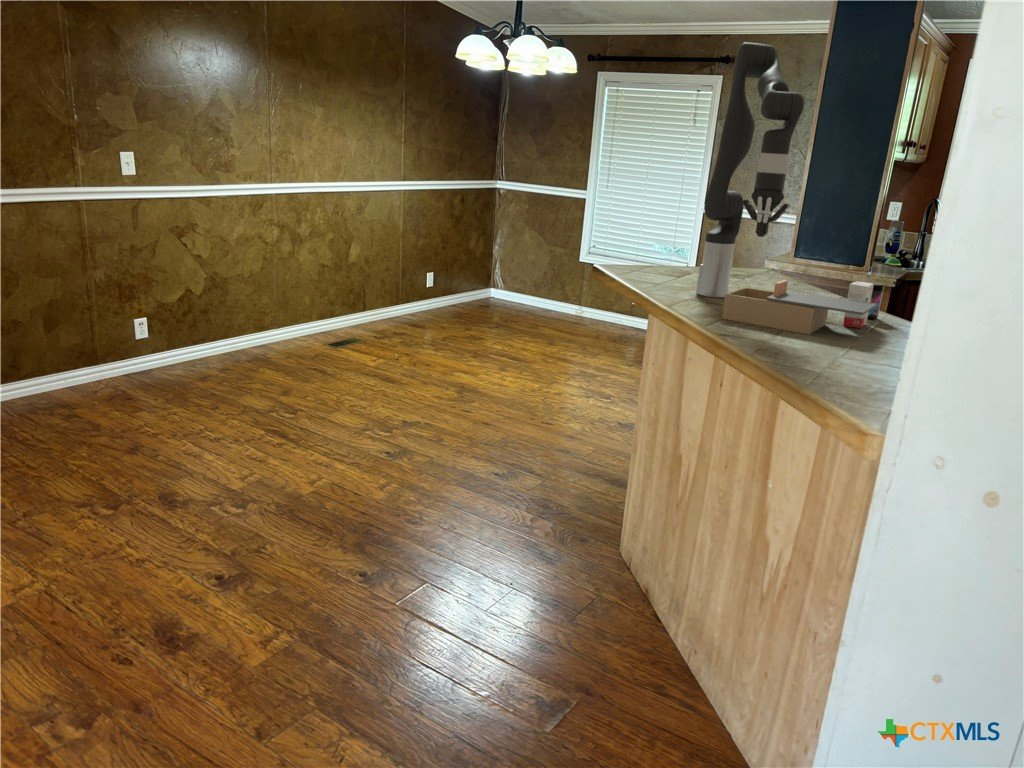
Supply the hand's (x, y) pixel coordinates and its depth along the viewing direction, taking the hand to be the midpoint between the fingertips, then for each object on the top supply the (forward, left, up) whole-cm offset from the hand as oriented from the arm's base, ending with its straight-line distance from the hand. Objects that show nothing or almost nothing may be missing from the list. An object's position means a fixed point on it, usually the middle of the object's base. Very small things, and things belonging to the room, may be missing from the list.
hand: (761, 236), depth 202 cm
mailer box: (+7, 0, -23) cm, 24 cm away
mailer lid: (+19, 0, -16) cm, 24 cm away
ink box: (+25, +15, -23) cm, 37 cm away
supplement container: (+25, +29, -23) cm, 45 cm away
